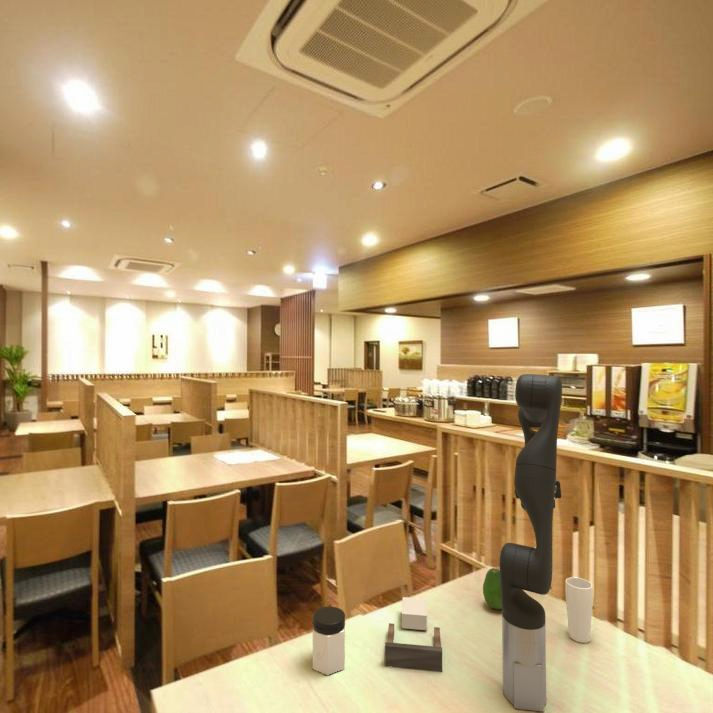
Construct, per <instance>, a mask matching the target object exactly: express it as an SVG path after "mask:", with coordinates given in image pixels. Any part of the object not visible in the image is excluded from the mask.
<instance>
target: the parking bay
mask: <svg viewBox="0 0 713 713" xmlns="http://www.w3.org/2000/svg"><path fill="white" fill-rule="evenodd" d="M440 628H441V627H436V626H434V627H433V638H434V640H433V641H434V645H421V644H412V643H411V644H410V643H402V642H401V643H400V642H394V641H393V640H394V639H395V623H388V629H387V634H386V635H387V637H386V641H385V643H384V667H388V666H392V667H391V668H398V667H399V668H400V669H409V670H417V671H418V670H419V671H420V670H421V671H429V672H440V673H443V647H442V641H441V629H440Z"/></svg>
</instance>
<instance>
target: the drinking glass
mask: <svg viewBox="0 0 713 713" xmlns="http://www.w3.org/2000/svg"><path fill="white" fill-rule="evenodd" d="M564 583H565V586H564V587H565V588H564V589H565V590H564V591H565V592H564V593H565V603H566V604H565V606H566V615H567V625H568V636H569V638H571V639H572V640H573V641H574V642H577V643H581V644H587V643H589V642H590V641H591V637H592V636H591V631H592V629H591V628H592V616H593V607H594V591H593V590H594V589H593V584H592V583H591V582H590V581H589V580H587V579H585V578H581V577H578V576H577V577H576V576H570V577H568V578H566V579H565V582H564Z"/></svg>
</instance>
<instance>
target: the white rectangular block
mask: <svg viewBox="0 0 713 713" xmlns="http://www.w3.org/2000/svg"><path fill="white" fill-rule="evenodd" d="M427 618H428V612H427V598H417V597H405V596H403V597H402V604H401V629H406V630H407V629H410V630H421V631H427V630H428V629H427V628H428V622H427V621H428V619H427Z"/></svg>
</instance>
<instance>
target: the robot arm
mask: <svg viewBox="0 0 713 713" xmlns="http://www.w3.org/2000/svg"><path fill="white" fill-rule="evenodd" d="M514 392H515V394H514V396H515V403H516V404H517V407H519V409H518V411H517V418H518V422H519V424H520V426H521V430H522V432H523V437H524V438H523V439H524V446H523V447H522V449H521V450H520V451H519V453H518V455H517V457H516V460H515V468H514V480H513V482H514V483H513V485H514V495H515V498H516V499H519V501H520V506H521V508H522V509H523V511H525V512H526V513H527V517H528V518H529V521H530V523H531V526H532V529H533V532H534V535H535V536H534V537H535V547H532V546H527V545H522V544H519V543H514V542H507V543H506V542H505V543H504V544H503V546H502V547H501V549H500V550H501V551H500V552H499V554H500V555H499V570H500V583H501V604H502V609H501V621H502V622H501V625H502V626H501V633H502V635H501V636H502V637H501V638H502V640H501V641H502V644H501V645H502V646H501V648H502V650H501V651H502V653H501V655H502V657H501V658H502V693H503V695H504V697H505V698H506V699H507V701H508V702H509V703H510V704H512V705H513V708H514V709H517V710H524V711H525V710H526V711H527V710H528V711H534V712H545V706H546V705H547V704H546V703H547V654H546V653H547V650H546V645H547V644H546V642H547V641H546V640H547V639H546V636H547V635H546V632H547V631H546V610H545V608H544V607H543V605H542V604H541V603H540V602H539V601H538V600H536V599H535V598H533V597H532V596H530V595H529V594H528V593H527V592H530V593H535V594H537V595H540V596H541V595H542V596H546V595H547V594H548V593H549V592H550V590H551V586H552V581H553V580H552V579H553V521H554V520H553V519H554V518H553V516H554V509H556V508H555V507H556V499H562V491H561V490H562V489H561V482H560V481H559V478H557V461H558V460H557V457H558V455H557V454H558V452H557V449H558V435H559V434H558V433H559V423H560V415H561V407H562V400H563V398H562V397H563V383H562V379H561V378H560V377H559V376H556V375H547V374H534V373H525V374H524V373H522V374H520V375H519V376H518V378H517V379H516V384H515V391H514ZM532 428H538V430H537V431H536V430H534V429H532ZM525 591H527V592H525Z"/></svg>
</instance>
